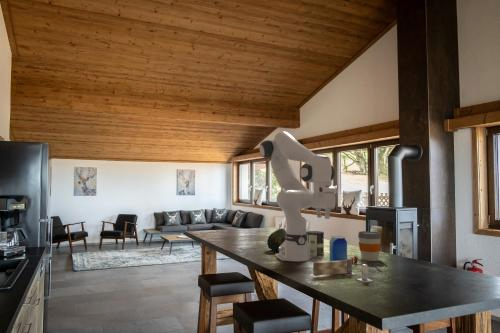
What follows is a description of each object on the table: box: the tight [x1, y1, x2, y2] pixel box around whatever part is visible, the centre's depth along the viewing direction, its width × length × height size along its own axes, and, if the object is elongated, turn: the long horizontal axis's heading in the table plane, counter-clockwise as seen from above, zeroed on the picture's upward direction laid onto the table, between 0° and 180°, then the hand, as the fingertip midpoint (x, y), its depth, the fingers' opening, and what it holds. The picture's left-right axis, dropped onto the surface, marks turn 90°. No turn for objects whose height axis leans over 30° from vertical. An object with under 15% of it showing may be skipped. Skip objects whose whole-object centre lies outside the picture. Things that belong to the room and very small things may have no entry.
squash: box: [266, 228, 287, 253], centre depth 239 cm, size 14×15×15 cm
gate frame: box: [340, 263, 374, 284], centre depth 172 cm, size 18×6×7 cm, turn 22°
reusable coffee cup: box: [357, 230, 382, 262], centre depth 214 cm, size 13×13×15 cm
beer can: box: [329, 235, 348, 261], centre depth 188 cm, size 8×8×16 cm
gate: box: [312, 258, 353, 277], centre depth 175 cm, size 20×3×6 cm, turn 112°
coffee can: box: [306, 230, 325, 259], centre depth 223 cm, size 10×10×14 cm
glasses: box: [351, 255, 389, 273], centre depth 193 cm, size 14×16×5 cm
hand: (323, 218), depth 180 cm, fingers open, 8 cm apart
